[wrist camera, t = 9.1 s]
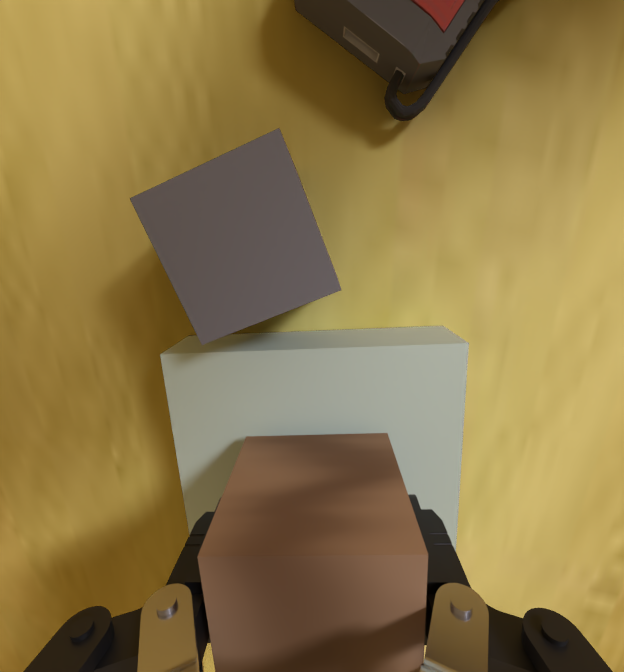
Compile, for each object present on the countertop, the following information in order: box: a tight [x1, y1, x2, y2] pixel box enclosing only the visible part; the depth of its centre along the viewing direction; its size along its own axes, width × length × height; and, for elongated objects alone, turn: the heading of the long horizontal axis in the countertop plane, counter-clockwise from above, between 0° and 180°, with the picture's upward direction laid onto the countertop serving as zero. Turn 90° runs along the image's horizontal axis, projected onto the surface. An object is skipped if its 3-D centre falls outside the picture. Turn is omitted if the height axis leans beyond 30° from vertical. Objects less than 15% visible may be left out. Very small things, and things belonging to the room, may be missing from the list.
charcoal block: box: [130, 128, 341, 345], centre depth 13 cm, size 5×5×5 cm
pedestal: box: [160, 326, 469, 552], centre depth 17 cm, size 12×12×3 cm
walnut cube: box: [197, 433, 428, 672], centre depth 12 cm, size 6×6×6 cm
